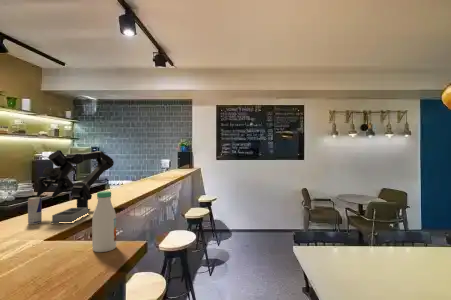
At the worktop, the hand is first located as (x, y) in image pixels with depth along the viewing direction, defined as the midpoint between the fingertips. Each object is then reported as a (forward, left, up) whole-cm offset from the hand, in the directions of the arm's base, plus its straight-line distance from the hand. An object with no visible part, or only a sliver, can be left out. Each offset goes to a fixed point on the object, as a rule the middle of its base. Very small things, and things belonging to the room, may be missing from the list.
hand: (44, 196), depth 140 cm
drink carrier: (-2, +12, -12) cm, 17 cm away
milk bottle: (+41, +45, -12) cm, 63 cm away
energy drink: (+5, -2, -12) cm, 13 cm away
